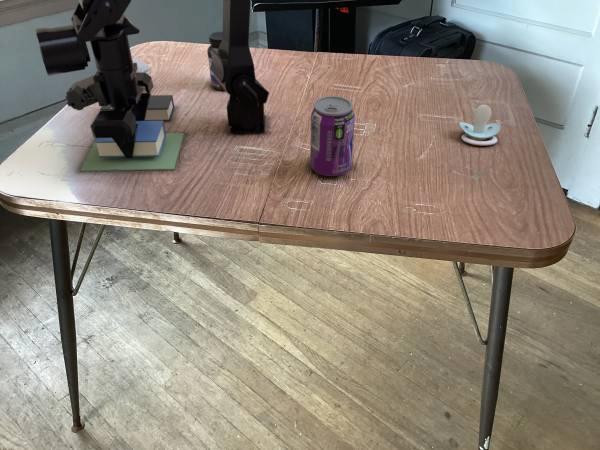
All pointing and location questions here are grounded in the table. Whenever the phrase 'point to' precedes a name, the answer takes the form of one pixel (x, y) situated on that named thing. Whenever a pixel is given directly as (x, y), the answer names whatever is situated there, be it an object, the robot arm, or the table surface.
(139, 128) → the blue book
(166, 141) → the green mat
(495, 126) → the pacifier
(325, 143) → the beverage can
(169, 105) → the black notebook
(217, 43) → the pill bottle
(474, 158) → the table surface
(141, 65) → the frog figurine
